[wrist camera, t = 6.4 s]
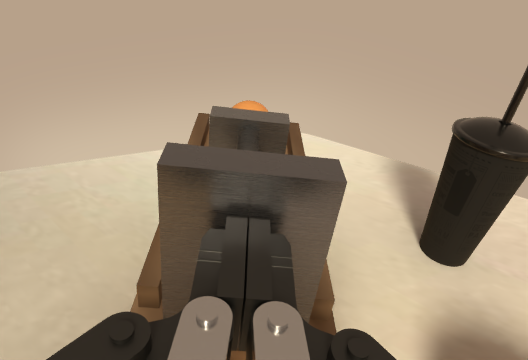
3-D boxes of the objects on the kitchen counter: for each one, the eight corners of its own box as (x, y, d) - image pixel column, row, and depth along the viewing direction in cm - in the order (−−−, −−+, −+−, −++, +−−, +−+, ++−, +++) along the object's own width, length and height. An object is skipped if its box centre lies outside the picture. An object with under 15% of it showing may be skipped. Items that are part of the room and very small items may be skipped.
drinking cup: (492, 283, 37) (614, 85, 27) (413, 269, 38) (503, 68, 27) (468, 234, 44) (559, 58, 33) (401, 222, 44) (470, 45, 34)
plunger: (163, 346, 17) (157, 164, 12) (210, 150, 32) (215, 37, 27) (299, 355, 17) (347, 182, 12) (281, 157, 33) (299, 47, 28)
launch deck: (133, 449, 22) (116, 321, 16) (194, 205, 42) (197, 108, 36) (304, 457, 23) (348, 337, 17) (283, 213, 43) (300, 119, 37)
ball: (228, 91, 32) (228, 106, 36) (223, 138, 31) (224, 148, 35) (275, 96, 32) (271, 111, 36) (271, 143, 31) (267, 152, 35)
